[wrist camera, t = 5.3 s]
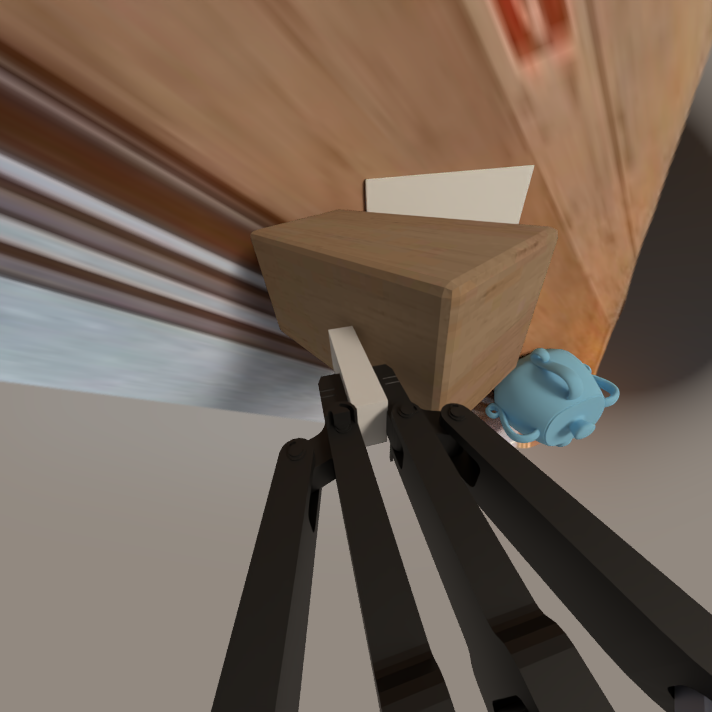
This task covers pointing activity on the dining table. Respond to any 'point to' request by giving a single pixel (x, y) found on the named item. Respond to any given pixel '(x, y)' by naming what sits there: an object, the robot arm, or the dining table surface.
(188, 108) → the dining table surface
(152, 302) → the dining table surface
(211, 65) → the dining table surface
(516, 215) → the mat
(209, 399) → the dining table surface
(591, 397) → the decorative pot
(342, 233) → the wooden block
